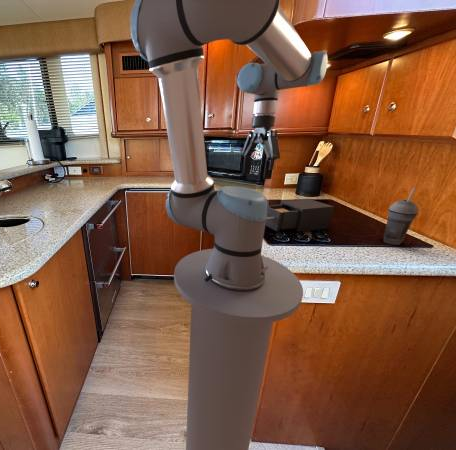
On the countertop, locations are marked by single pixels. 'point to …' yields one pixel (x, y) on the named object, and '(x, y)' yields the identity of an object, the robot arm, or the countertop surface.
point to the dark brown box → (311, 214)
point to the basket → (288, 217)
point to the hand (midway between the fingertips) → (256, 176)
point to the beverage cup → (399, 220)
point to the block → (281, 211)
